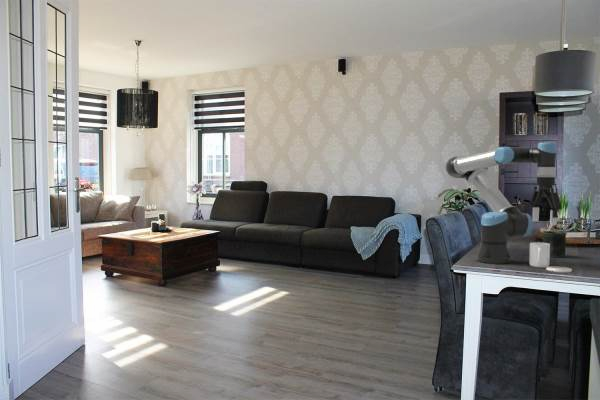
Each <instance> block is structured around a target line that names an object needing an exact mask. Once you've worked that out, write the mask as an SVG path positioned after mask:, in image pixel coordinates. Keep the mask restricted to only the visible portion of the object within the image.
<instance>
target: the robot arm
mask: <svg viewBox="0 0 600 400" xmlns="http://www.w3.org/2000/svg"><path fill="white" fill-rule="evenodd" d="M556 162H557V144H556V142H552V141H551V142H546V141H545V142H539V143H538V144H537V146H535V147H532V146H529V147H526V146H524V147H523V146H499V147H498V148H497V149H494V150H489V151H486V152H485V151H483V152H480V153H476V154H472V155H467V156H463V155H459V156H453V157H450V158H449V159H448V160H447V162H446V165H445V170H446V172H447V174H448V175H449V176H450V177H451V178H454V179H465V181H466V182H467V183H468V185H472V186H474V188H475V189H476V190H477V192H478V193H479V195H481V197H482V198H483V200H484V201H485V202H486V203H487V205H488V206H489V208H490V209H491V211H489V212H485V213H484V214H482V215H481V220H480V221H481V222H480V245H479V246H480V247H479V249H478V252H477V253H476V261H477V260H478V261H477V262H480V261H481V262H480V263H484V262H487V263H486V264H499V265H500V264H509V263H511V260H512V259H511V255H510V251H509V248H508V239H515V238H519V239H521V238H524V237H527V236H529V234H531V232H532V231H533V227H534V226H533V225H534V223H533V222H539V221H540V220H539V218H540V216H539V215H540V204H541V202H542V200H543V199H544V198H545V199H547V200H546V201H548V204H549V206H550V208H551V209H550V213H549V214H550V216H549V217H550V218H549V226H557V224H558V222H557V221H558V211H559V210H562V206H561V205H562V204H561V201H560V197H559V195H558V194H559V193H558V188H557V187H553V186H555V185H556V177H555V176H556V164H557V163H556ZM507 164H508V165H509V164H537V166H536V176H537V177H536V186H534V187H533V193H532V196H531V199H530V201H529V206H531V208H532V217H531V216H530V214H528V213H527V212H526V213H525V212H522V211H520V209H519V208H518V207H517V206H516V205H512V204H511V203H510V202H509V200H508V199H507V197H506V196H504V194H503V193H502V191H501V190H500V189H499V188H498V187H497V185H496V184H495V182H493V180H492V179H491V178H490V176H488V175H489V170H488V169H489V168H492V167H495V166H497V167H498V166H502V165H507Z"/></svg>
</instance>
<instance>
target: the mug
mask: <svg viewBox="0 0 600 400" xmlns="http://www.w3.org/2000/svg"><path fill="white" fill-rule="evenodd" d="M567 234H568V233H567V232H565V231H559V230H558V231H556V230H555V231H554V230H543V231H541V235H536V236H535V238H534V242H538V238H542V243H548V244H550V258H565V256H566V248H567V247H566V244H567V243H566V242H567V241H566V239H567Z"/></svg>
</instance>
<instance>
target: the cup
mask: <svg viewBox="0 0 600 400" xmlns="http://www.w3.org/2000/svg"><path fill="white" fill-rule="evenodd" d="M550 258H551V257H550V244H548V243H543V242H539V241H537V242H535V241H534V242H530V243H529V258H528V259H529V260H528V261H529V266H530V267H534V268H535V267H536V268H546V267H549V266H550V260H551V259H550Z"/></svg>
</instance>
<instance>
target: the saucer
mask: <svg viewBox="0 0 600 400" xmlns="http://www.w3.org/2000/svg"><path fill="white" fill-rule="evenodd" d="M545 270H546V271H548V272H552V271H553V273H568V274H569V273H572V272H573V269H572V268H570V267H566V266H557V265H551V266H550V265H549V266H548V267H545Z"/></svg>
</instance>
